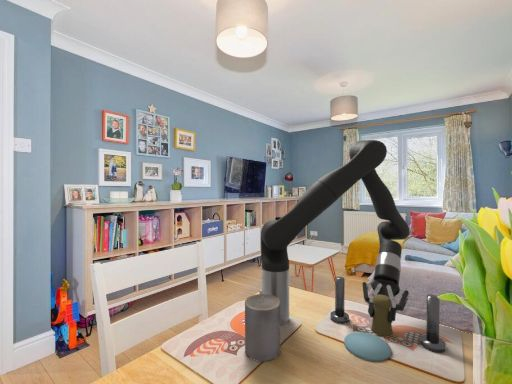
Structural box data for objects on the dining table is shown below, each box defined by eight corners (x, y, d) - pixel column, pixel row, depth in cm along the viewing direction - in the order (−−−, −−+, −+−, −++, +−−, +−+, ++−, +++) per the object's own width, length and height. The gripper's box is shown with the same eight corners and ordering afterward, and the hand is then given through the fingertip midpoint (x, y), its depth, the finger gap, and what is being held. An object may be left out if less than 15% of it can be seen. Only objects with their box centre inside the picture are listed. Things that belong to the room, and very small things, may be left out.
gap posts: (327, 320, 88) (328, 278, 87) (333, 313, 93) (333, 273, 92) (445, 355, 69) (446, 303, 69) (445, 344, 74) (446, 295, 74)
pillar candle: (254, 336, 78) (254, 287, 78) (285, 345, 74) (285, 292, 73) (238, 356, 69) (237, 300, 69) (272, 367, 65) (271, 307, 65)
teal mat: (338, 350, 72) (338, 347, 72) (350, 330, 81) (350, 328, 81) (387, 367, 65) (387, 364, 65) (394, 343, 75) (394, 340, 75)
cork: (395, 338, 77) (395, 301, 77) (373, 335, 79) (374, 299, 78) (389, 327, 83) (389, 293, 83) (369, 325, 84) (369, 291, 84)
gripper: (363, 259, 91) (354, 307, 81) (411, 267, 83) (407, 320, 73) (366, 270, 95) (358, 317, 86) (412, 278, 87) (408, 331, 77)
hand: (380, 318), depth 79 cm, fingers closed on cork, 4 cm apart
